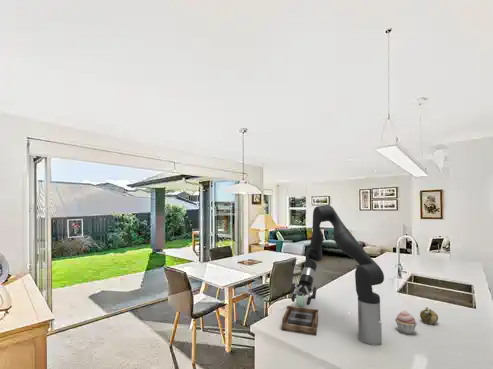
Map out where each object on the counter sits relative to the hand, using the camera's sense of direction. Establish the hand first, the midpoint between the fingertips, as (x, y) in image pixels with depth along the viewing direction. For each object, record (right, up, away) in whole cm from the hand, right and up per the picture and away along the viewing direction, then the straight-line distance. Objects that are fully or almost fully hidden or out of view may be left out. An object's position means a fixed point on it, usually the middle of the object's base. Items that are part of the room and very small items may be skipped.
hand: (300, 302), depth 150 cm
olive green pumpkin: (+65, -6, -10) cm, 66 cm away
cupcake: (+47, -5, -19) cm, 52 cm away
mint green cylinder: (0, -6, 0) cm, 6 cm away
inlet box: (-3, -5, -15) cm, 16 cm away
